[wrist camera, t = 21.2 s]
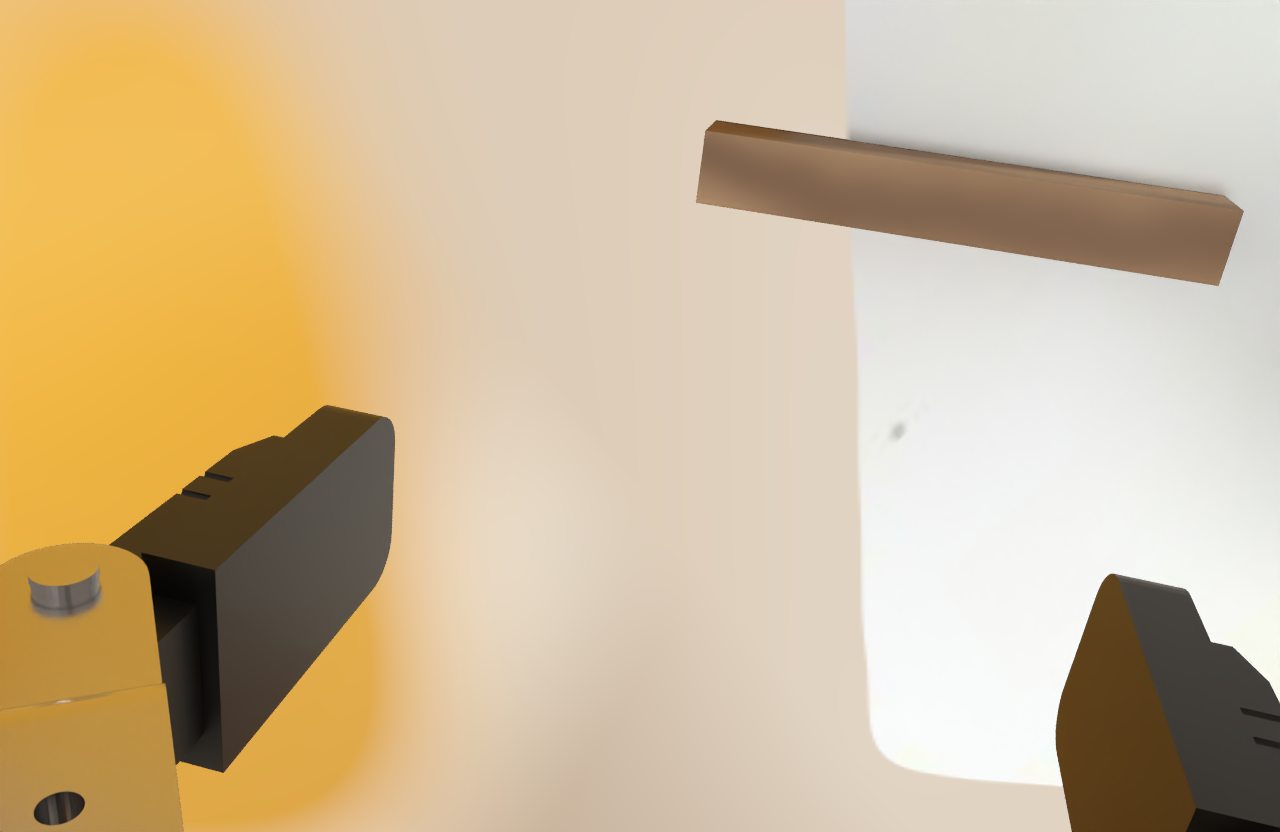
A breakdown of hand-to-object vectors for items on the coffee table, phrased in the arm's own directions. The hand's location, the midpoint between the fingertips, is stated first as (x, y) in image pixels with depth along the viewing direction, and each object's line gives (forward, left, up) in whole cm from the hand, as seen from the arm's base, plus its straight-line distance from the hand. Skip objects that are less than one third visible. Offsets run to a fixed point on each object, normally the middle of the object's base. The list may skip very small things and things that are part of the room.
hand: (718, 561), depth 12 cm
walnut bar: (+3, +5, -38) cm, 39 cm away
